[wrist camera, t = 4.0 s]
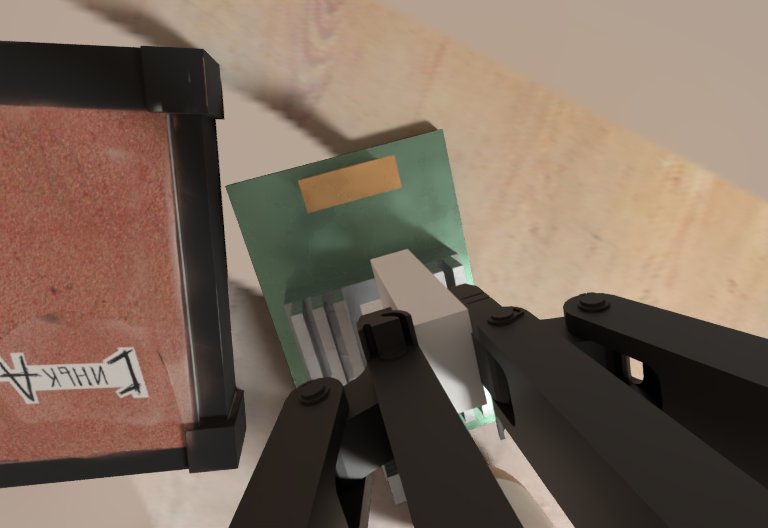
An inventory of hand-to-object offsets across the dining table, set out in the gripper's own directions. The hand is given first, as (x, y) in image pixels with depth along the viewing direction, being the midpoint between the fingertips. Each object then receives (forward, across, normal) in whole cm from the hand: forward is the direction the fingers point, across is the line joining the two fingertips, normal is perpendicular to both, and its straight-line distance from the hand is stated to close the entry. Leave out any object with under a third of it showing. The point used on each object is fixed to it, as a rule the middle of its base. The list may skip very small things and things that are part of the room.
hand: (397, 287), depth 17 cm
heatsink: (+15, 0, -7) cm, 17 cm away
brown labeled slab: (+16, -18, +2) cm, 24 cm away
